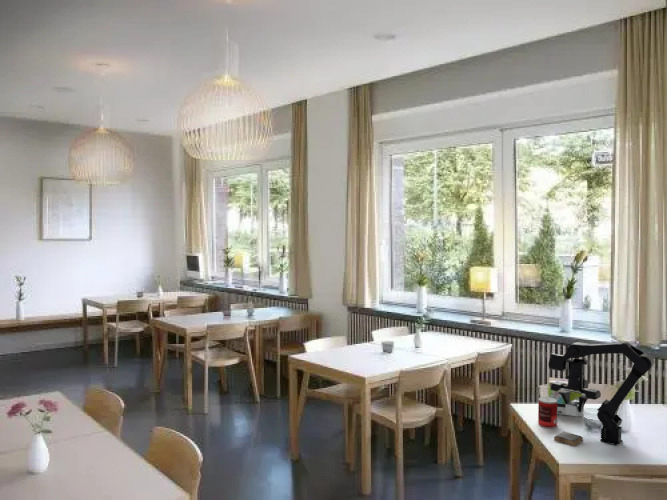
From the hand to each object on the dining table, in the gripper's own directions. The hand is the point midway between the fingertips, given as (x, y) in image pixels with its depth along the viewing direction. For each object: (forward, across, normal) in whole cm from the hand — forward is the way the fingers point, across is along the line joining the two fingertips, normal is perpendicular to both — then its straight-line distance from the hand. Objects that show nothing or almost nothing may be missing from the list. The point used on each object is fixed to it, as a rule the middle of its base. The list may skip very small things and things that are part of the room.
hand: (574, 410), depth 236 cm
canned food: (+10, +12, -2) cm, 16 cm away
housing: (+1, 0, 0) cm, 1 cm away
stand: (+10, -2, +10) cm, 14 cm away
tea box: (+10, +15, -24) cm, 30 cm away
